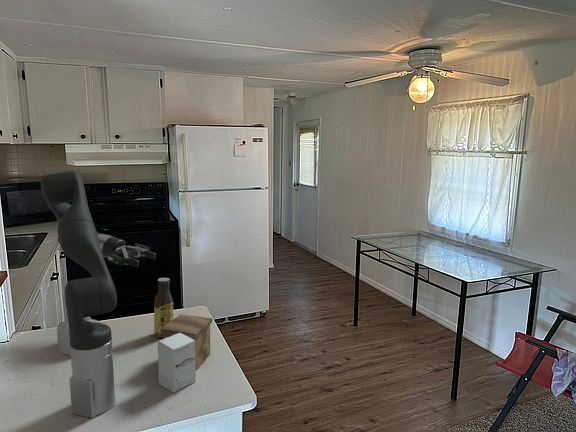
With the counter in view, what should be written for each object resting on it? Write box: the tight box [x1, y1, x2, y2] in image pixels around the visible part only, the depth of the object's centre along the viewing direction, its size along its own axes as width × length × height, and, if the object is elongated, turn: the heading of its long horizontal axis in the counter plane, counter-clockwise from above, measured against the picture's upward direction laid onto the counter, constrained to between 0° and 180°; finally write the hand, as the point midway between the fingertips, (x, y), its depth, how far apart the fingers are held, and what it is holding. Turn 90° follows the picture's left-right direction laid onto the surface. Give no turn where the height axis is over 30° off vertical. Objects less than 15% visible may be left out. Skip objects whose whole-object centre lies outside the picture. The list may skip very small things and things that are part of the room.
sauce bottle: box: [153, 277, 174, 339], centre depth 140 cm, size 7×6×20 cm
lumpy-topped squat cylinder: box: [56, 316, 102, 355], centre depth 132 cm, size 10×13×9 cm
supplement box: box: [157, 333, 196, 394], centre depth 113 cm, size 7×7×13 cm
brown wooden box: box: [161, 313, 213, 372], centre depth 124 cm, size 11×11×12 cm
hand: (147, 260), depth 139 cm, fingers open, 8 cm apart
